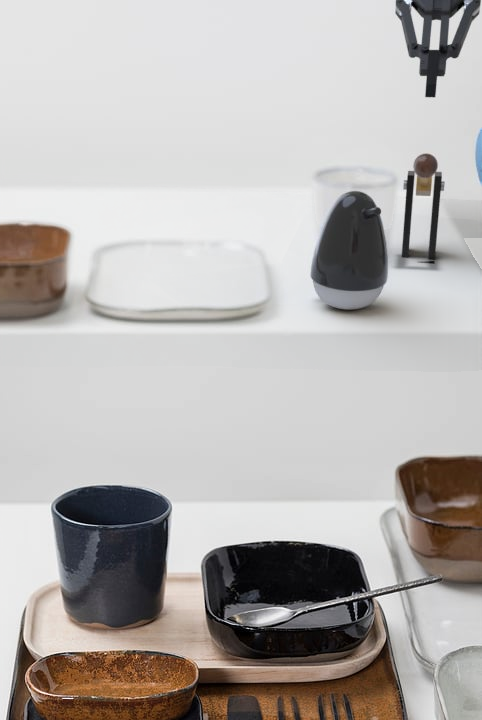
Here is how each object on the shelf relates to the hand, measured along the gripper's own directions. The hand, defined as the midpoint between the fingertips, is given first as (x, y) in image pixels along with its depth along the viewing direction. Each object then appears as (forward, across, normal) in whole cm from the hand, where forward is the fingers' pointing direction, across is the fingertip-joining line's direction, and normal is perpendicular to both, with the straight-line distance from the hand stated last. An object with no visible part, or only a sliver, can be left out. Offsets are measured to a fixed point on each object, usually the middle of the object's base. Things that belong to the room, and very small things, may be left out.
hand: (430, 90), depth 159 cm
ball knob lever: (+14, 0, -5) cm, 14 cm away
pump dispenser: (+37, +9, +1) cm, 38 cm away
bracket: (+19, 0, -17) cm, 26 cm away
